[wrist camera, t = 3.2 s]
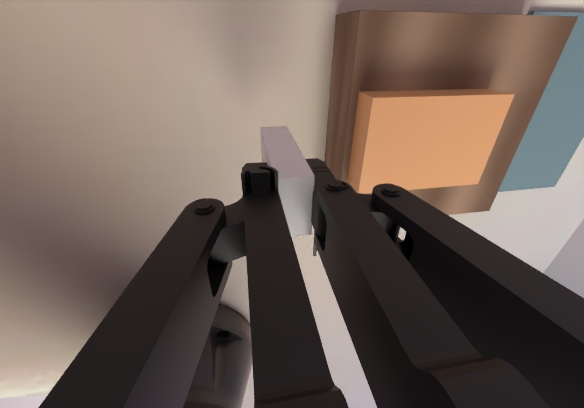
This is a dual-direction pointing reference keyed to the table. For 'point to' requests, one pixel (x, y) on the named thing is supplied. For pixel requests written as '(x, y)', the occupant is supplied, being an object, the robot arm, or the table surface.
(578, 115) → the mat
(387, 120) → the tile
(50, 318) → the table surface
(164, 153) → the table surface
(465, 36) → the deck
